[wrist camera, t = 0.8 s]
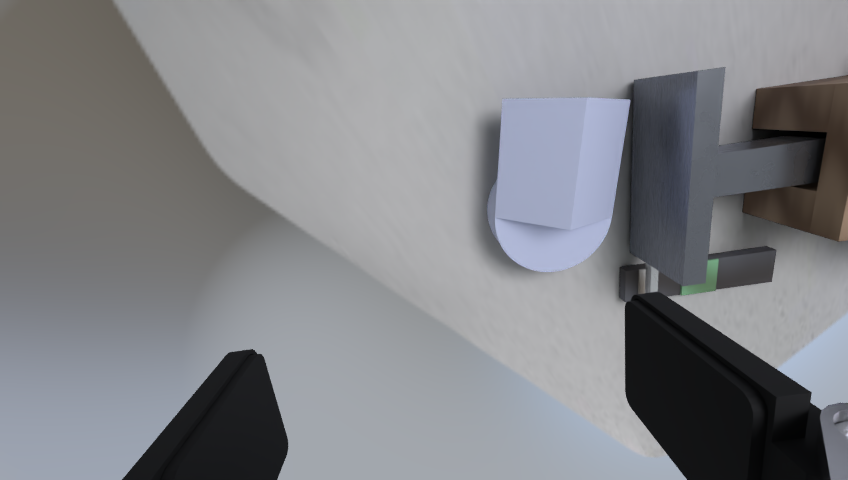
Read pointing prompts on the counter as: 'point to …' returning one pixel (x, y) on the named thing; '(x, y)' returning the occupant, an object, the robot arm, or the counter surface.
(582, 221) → the wedge on round base
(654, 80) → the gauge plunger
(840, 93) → the frame
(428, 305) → the counter surface
